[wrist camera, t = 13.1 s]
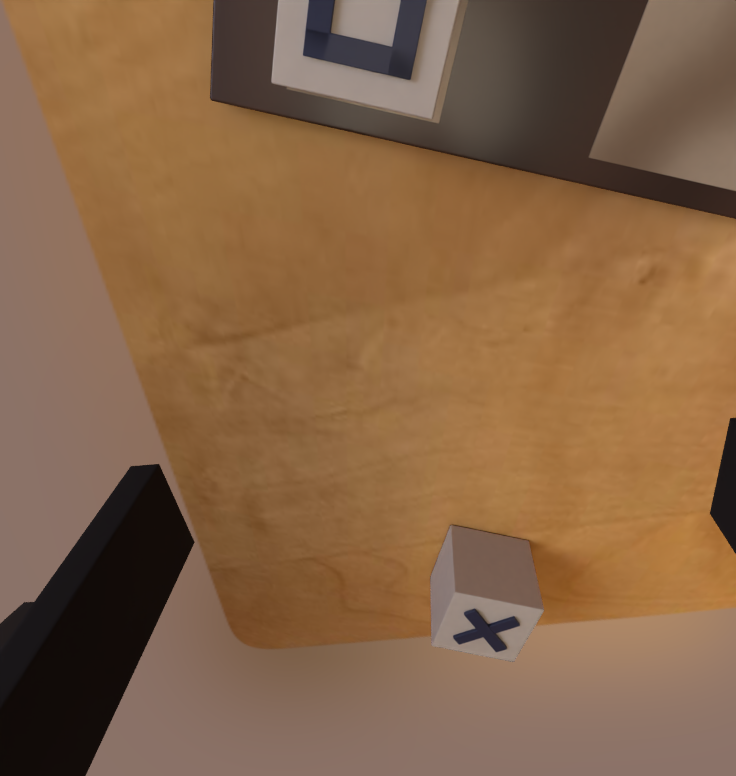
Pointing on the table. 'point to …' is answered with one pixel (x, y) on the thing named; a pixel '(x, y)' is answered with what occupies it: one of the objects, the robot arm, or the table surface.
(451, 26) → the tile
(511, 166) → the word board
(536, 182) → the table surface
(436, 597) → the tile
